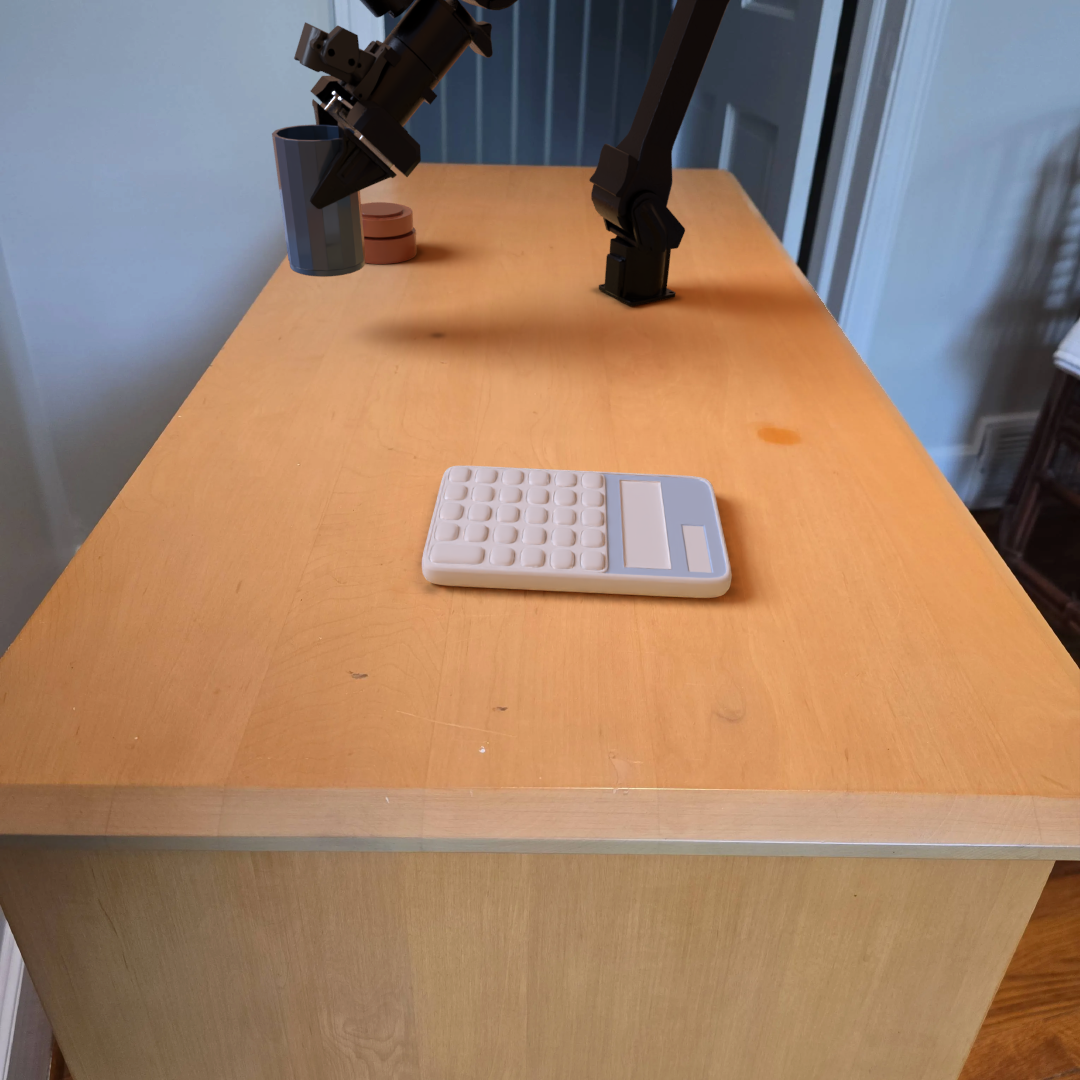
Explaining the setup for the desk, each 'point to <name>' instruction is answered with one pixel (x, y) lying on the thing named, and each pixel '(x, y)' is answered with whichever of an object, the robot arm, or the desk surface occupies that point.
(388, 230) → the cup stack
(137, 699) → the desk surface
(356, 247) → the tumbler
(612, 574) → the calculator
